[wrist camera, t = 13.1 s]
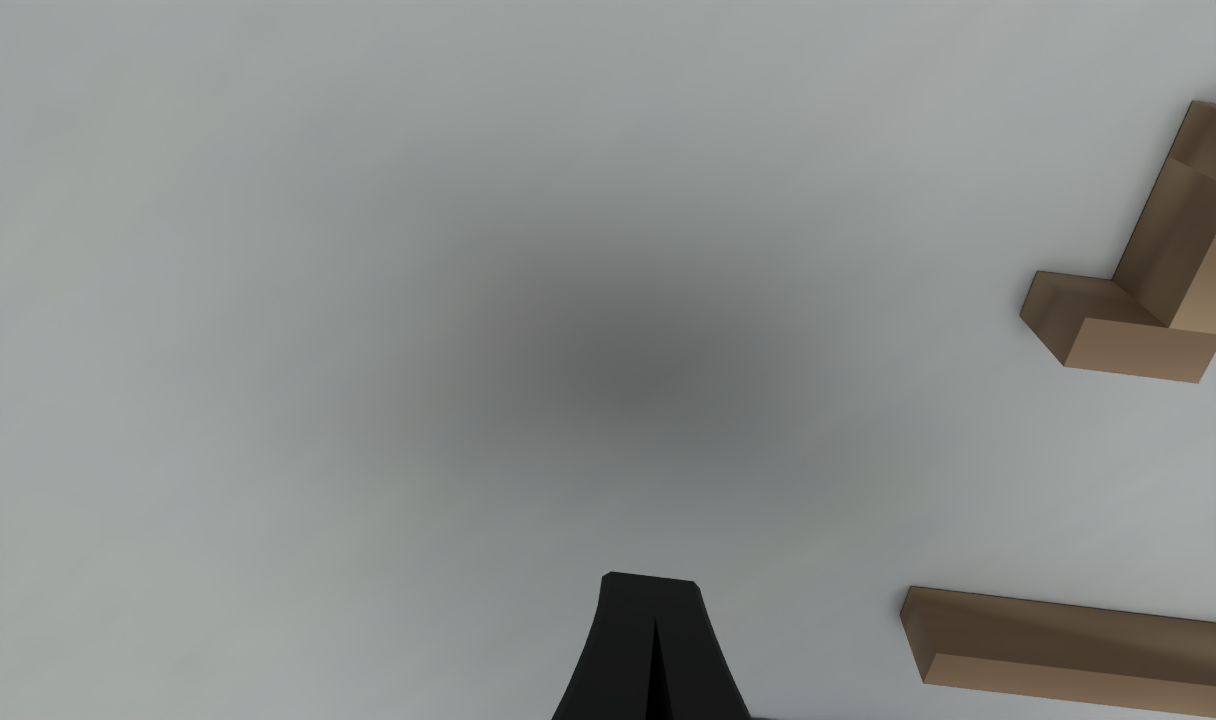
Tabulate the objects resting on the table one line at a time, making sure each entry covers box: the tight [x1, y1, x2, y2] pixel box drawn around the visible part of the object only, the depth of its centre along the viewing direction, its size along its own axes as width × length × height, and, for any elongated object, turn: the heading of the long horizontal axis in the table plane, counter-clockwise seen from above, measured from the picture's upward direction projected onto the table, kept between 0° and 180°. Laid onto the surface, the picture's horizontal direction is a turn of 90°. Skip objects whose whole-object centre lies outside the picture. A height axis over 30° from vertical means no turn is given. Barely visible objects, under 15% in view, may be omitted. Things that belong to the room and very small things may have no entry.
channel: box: [900, 101, 1216, 718], centre depth 21 cm, size 16×10×2 cm, turn 173°
